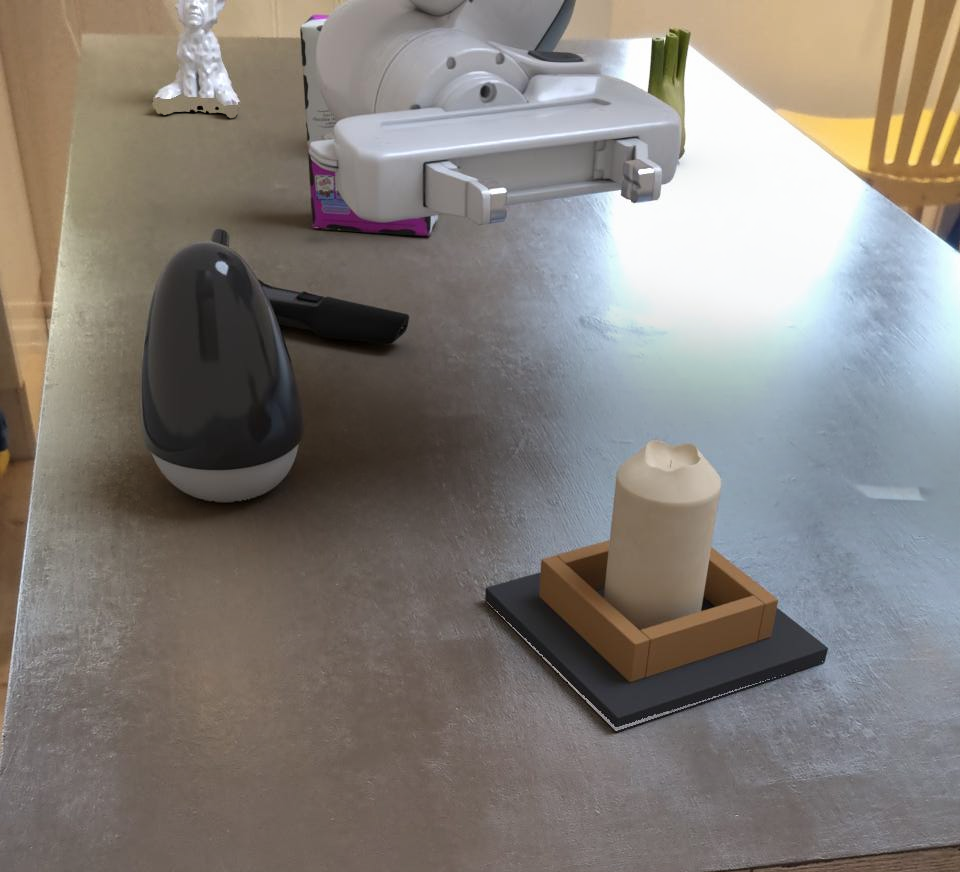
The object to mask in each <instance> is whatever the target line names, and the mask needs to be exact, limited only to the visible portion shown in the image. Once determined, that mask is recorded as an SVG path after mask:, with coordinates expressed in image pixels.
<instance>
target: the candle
mask: <svg viewBox="0 0 960 872" xmlns="http://www.w3.org/2000/svg"><path fill="white" fill-rule="evenodd" d="M721 488H722V478H721V476H720V474H719V473H718V471H717V470H716V469H715V468H714V467H713V466H712V464H711V463H710V462H709V461H708V460H707V459H706V458H705V457H704V455H703V454H702V453H701V451H700V450H699V449H698V447H697V446H696V445H695V444H693V443H683V444H679V445H671V444H668V443H667V442H665V441H663V440H658V439H657V440H656V439H654V440H650V441H648V442H647V443H646V444H645V445H644V446H643V447H642V448H641V449H640V450H638V451H637V452H636V453H635V454H632V456H631V457H629V458H628V459H627V460H626V461H624V462H623V463H622V464H620V465H619V467H618V469H617V470H616V475H615V484H614V495H613V505H612V514H611V525H610V532H609V533H610V534H609V540H610V542H609V552H608V561H607V571H606V581H605V590H604V599H605V600H606V601H607V602H608V603H610V604H611V605H612V606H613V607H614V608H615V609H616V610H617V611H619V612H620V613H621V614H622V615H623V616H624V617H625V618H626V619H627V620H629V621H630V622H631V623H632V624H633V625H634V626H635V627H636V628H637V629H639V630H642V629H645V628H648V627H652V626H655V625H658V624H662V623H665V622H668V621H671V620H675V619H678V618H681V617H684V616H688V615H691V614H694V613H697V612H701V607H702V602H703V595H704V589H705V583H706V577H707V571H708V564H709V558H710V552H711V547H712V546H713V539H714V532H715V527H716V521H717V514H718V509H719V503H720V502H719V501H720V496H721V490H722V489H721Z"/></svg>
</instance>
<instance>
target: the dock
mask: <svg viewBox="0 0 960 872" xmlns="http://www.w3.org/2000/svg"><path fill="white" fill-rule="evenodd" d="M609 542H610V539H608V540H605V541H601V542H598V543H594V544H590V545H587V546H584V547H579V548H576V549H572V550H568V551H565V552H561V553H558V554H556V555H555V554H554V555H552V556H548V557H547V556H546V557H544V558H541V560H540V571H539V572H537V573H533V574H529V575H526V576H522V577H519V578H515V579H511V580H507V581H505V582H501V583H497V584H493V585H490V586H487V587H485V595H484V596H485V599H484V602H485V603H486V604H487V606H489V607H490V609H491V610H493V611H494V612H495V613H496V614H497V615H498V616H499V617H500V619H502V620H503V621H504V622H505V624H507V625H508V626H509V627H510V629H512V630H513V631H514V632H515V633H516V634H517V636H519V637H520V638H521V639H522V640H523V641H524V642H525V643H526V644H527V645H528V647H530V648H531V650H533V651H534V652H535V653H536V654H537V655H538V656H539V658H540V659H542V660H543V661H544V662H545V663H546V664H547V666H549V667H550V668H551V669H552V671H554V672H555V673H556V674H557V676H558V677H559V678H561V680H563V681H564V682H565V683H566V685H568V687H570V689H572V690H573V691H574V692H575V693H576V694H577V696H579V698H581V699H582V700H583V702H585V704H586V705H587V706H588V707H589V708H590V709H592V710H593V712H594V713H596V714H597V716H599V717H600V719H601V720H603V722H605V723H606V725H608V727H610V728H611V729H612V730H613V731H614V732H615V733H620V732H623V731H625V730H628V729H631V728H635V727H636V726H640V725H643V724H646V723H648V722H649V723H650V722H652V721H655V720H657V719H661V718H664V717H667V716H670V715H673V714H676V713H678V712H682V711H684V710H688V709H691V708H693V707H697V706H700V705H702V704H705V703H709V702H712V701H714V700H717V699H720V698H723V697H726V696H729V695H732V694H736V693H738V692H741V691H744V690H747V689H750V688H753V687H756V686H758V685H761V684H764V683H768V682H770V681H773V680H774V681H775V680H777V679H779V678H783V677H786V676H789V675H792V674H795V673H798V672H800V671H803V670H806V669H809V668H812V667H815V666H819V665H821V664H824V663H826V660H827V656H828V651H829V647H828V646H827V645H826V644H824V643H823V642H821V640H819V639H818V638H816V637H815V636H814V635H812V634H811V632H809V631H807V630H806V629H805V628H804V627H802V626H801V625H800V624H799V623H798V622H796V621H795V620H794V619H793V618H791V617H790V616H789V615H787V614H786V613H784V612H783V610H781V609H779V607H778V604H779V598H777V597H776V596H775V595H773V594H772V593H771V592H770V591H769V590H767V589H765V587H764V586H762V585H761V584H759V583H758V582H757V581H755V580H754V579H753V578H752V577H750V576H749V575H748V574H747V573H746V572H744V571H743V570H742V569H740V568H739V567H738V566H737V565H735V564H734V563H732V561H730V560H729V559H727V558H726V557H725V556H724V555H722V554H721V553H720V552H719V551H717V550H716V549H715V548H714V547H712V546H711V552H710V558H709V564H708V571H707V577H706V583H705V589H704V595H703V602H702V607H701V612H697V613H694V614H691V615H688V616H684V617H681V618H678V619H675V620H671V621H668V622H665V623H662V624H658V625H655V626H652V627H648V628H645V629H642V630H639V629H637V628H636V627H635V626H634V625H633V624H632V623H631V622H630V621H629V620H627V619H626V618H625V617H624V616H623V615H622V614H621V613H620V612H619V611H617V610H616V609H615V608H614V607H613V606H612V605H611V604H610V603H608V602H607V601H606V600H605V599H604V590H605V581H606V571H607V561H608V552H609ZM485 600H486V601H485ZM487 602H488V603H489V604H490V605H491V606H492V607H493V608H492V607H491V606H490V605H489V604H488V603H487ZM494 609H495V610H496V611H498V613H499V614H500V615H501V616H503V617H504V618H505V620H506V621H507V622H509V623H510V624H511V625H512V627H514V628H515V629H516V630H517V631H518V632H519V633H520V634H521V635H522V636H523V637H524V638H526V639H527V641H528V642H530V643H531V645H532V646H534V647H535V648H536V650H538V651H539V653H540V654H542V655H543V657H545V658H546V659H547V660H548V661H549V662H550V663H551V664H552V666H554V667H555V668H556V669H557V670H558V671H559V672H560V673H561V674H562V675H563V676H564V677H565V678H566V679H567V680H568V681H569V682H570V683H571V684H572V685H573V686H574V687H575V688H576V689H577V690H578V691H579V692H580V693H581V694H582V695H584V696H585V698H587V699H588V700H589V701H590V702H591V703H592V704H593V705H594V706H595V707H596V708H597V709H598V710H599V711H601V713H602V714H604V716H605V717H607V719H609V720H610V722H611V723H612V724H614V726H615V727H619V726H622V725H625V724H629V723H632V722H635V721H636V720H637V721H638V720H641V719H642V718H643V719H644V718H647V717H648V716H653V715H654V714H656V715H657V714H660V713H663V712H666V711H671V710H672V709H673V710H674V709H677V708H680V707H683V706H685V705H686V706H687V705H688V704H693V703H696V702H699V701H702V700H705V699H706V700H707V699H708V698H712V697H713V696H718V695H719V694H720V695H721V694H724V693H727V692H729V691H732V690H733V691H734V690H735V689H739V688H740V687H741V688H742V687H745V686H748V685H752V684H755V683H758V684H755V685H752V686H749V687H746V688H743V689H740V690H737V691H734V692H731V693H728V694H725V695H722V696H719V697H716V698H713V699H710V700H707V701H704V702H701V703H698V704H696V705H693V706H690V707H687V708H684V709H681V710H678V711H675V712H672V713H669V714H666V715H663V716H660V717H657V718H654V719H651V720H648V721H645V722H642V723H639V724H636V725H633V726H630V727H627V728H624V729H621V730H618V731H615V730H614V729H613V728H612V727H611V726H610V725H609V724H608V723H607V722H606V721H605V720H604V719H603V718H602V717H601V716H600V715H599V714H598V713H597V712H596V711H595V710H594V709H593V708H592V707H591V706H590V705H589V704H588V703H587V702H586V701H585V700H584V699H583V698H582V697H581V696H580V695H579V694H578V693H577V692H576V691H575V690H574V689H573V688H572V687H571V686H570V685H569V684H568V683H567V682H566V681H565V680H564V679H563V678H562V677H561V676H560V675H559V674H558V673H557V672H556V671H555V670H554V669H553V668H552V667H551V666H550V665H549V664H548V663H547V662H546V661H545V660H544V659H543V658H542V657H541V656H540V655H539V654H538V653H537V652H536V651H535V650H534V649H533V648H532V647H531V646H530V645H529V644H528V643H527V642H526V641H525V640H524V639H523V638H522V637H521V636H520V635H519V634H518V633H517V632H516V631H515V630H514V629H513V628H512V627H511V626H510V625H509V624H508V623H507V622H506V621H505V620H504V619H503V618H502V617H501V616H500V615H499V614H498V613H497V612H496V611H495V610H494ZM822 661H823V662H822ZM796 670H797V671H796ZM784 674H785V675H784ZM781 675H782V676H781ZM774 677H776V678H774ZM772 678H773V679H772ZM767 679H770V680H767ZM765 680H766V681H765ZM760 681H761V683H759V682H760ZM762 681H764V682H762Z"/></svg>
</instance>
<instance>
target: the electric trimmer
mask: <svg viewBox="0 0 960 872" xmlns="http://www.w3.org/2000/svg"><path fill="white" fill-rule="evenodd" d="M257 279H258V280H259V282H260V284H261V285H262V287H263V289H264V291H265V293H266V295H267V297H268V299H269V301H270V304H271V306H272V308H273V311H274V313H275V316H276V318H277V321H278V324H279V326H286V327H291V328H297V329H302V330H307V331H312V332H314V333H315V334H316V335H317V336H318V337H320V338H326V339H335V340H345V341H346V340H347V341H358V342H366V343H367V342H368V343H378V344H379V343H380V344H390V345H391V344H393V343H394V342H396V341H397V340H398V339H400V337H402V336H404V334H405V333H406V332H407V329H408V326H409V321H410V315H409V314H408V313H404V312H401V311H400V312H399V311H395V310H391V309H386V308H381V307H376V306H373V305H367V304H362V303H358V302H353V301H349V300H345V299H340V298H335V297H332V296H323V295H317V294H314V293H310V292H306V291H302V292H301V291H297V290H291V289H287V288H281V287H276V286H272V285H270V284H267V283H265V282H264V281H262V280H261V279H259V278H257Z"/></svg>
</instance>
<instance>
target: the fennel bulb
mask: <svg viewBox="0 0 960 872" xmlns="http://www.w3.org/2000/svg"><path fill="white" fill-rule="evenodd" d="M690 40H691V30H690V29H685V28H678V27H669V29H668V32H666V34H665V39H664V38H663V37H661V36H653V37H651V48H650V63H649V75H648V77H649V78H648V83H647V84H648V86H647V92H648V93H649V94H651V95H653V96H655V97H656V98H658V99H660V100H661V101H663V102H664V103H666V104H667V105H669V106H671V107H672V108H673V109H674V110H675V111H676V112H677V113H678V114H679V116H680V119H681V127H682V129H681V145H680V153H679V160H681V159H682V158H683V156H684V154H685V152H686V150H685V145H686V136H687V135H686V127H685V126H686V125H685V124H686V123H685V122H686V121H685V120H686V119H685V114H686V99H685V76H686V75H685V74H686V66H687V58H688V52H689V45H690Z"/></svg>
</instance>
